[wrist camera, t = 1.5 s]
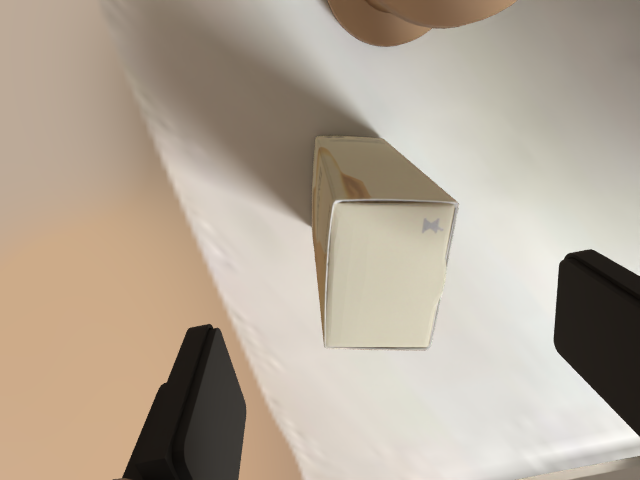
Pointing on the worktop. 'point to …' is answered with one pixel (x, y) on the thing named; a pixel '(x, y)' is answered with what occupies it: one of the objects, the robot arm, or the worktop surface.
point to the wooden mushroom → (408, 17)
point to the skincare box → (377, 245)
